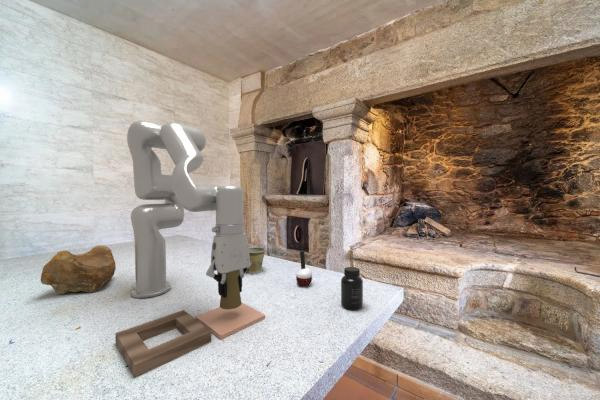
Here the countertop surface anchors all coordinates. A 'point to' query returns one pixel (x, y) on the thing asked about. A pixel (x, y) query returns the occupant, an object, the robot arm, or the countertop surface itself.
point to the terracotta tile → (229, 320)
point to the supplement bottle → (352, 289)
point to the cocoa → (304, 273)
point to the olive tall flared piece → (231, 291)
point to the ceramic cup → (256, 259)
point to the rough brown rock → (79, 270)
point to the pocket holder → (149, 359)
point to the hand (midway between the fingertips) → (230, 292)
